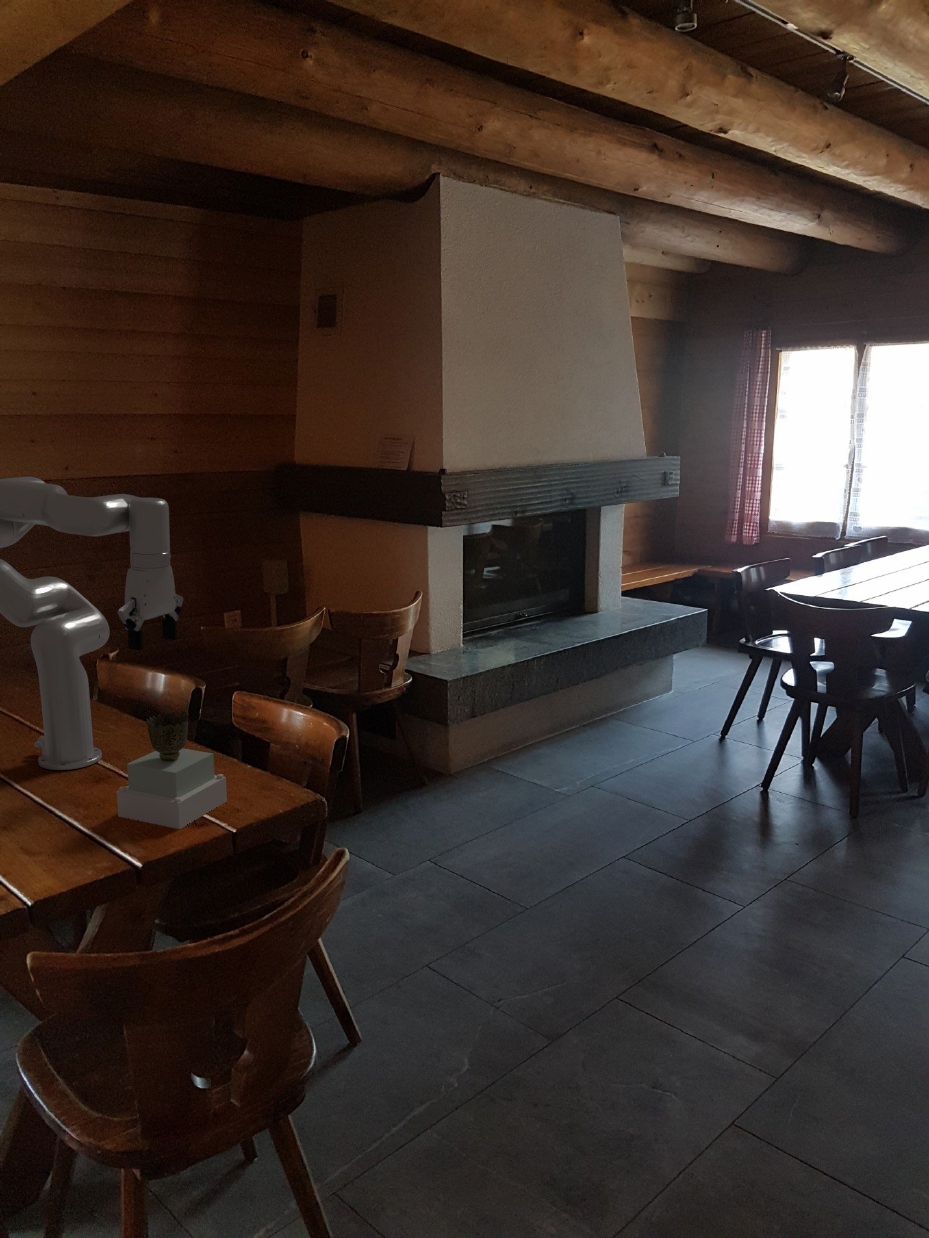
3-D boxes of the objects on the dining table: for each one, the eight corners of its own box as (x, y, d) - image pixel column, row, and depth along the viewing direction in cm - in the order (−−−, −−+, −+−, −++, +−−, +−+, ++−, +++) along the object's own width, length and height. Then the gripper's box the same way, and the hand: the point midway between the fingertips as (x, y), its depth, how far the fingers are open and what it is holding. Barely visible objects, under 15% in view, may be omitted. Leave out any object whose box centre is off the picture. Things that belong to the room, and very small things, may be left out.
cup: (198, 755, 185) (196, 714, 183) (174, 768, 178) (172, 726, 176) (165, 750, 187) (163, 710, 186) (140, 762, 180) (137, 721, 179)
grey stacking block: (118, 816, 181) (114, 765, 179) (168, 790, 194) (165, 742, 192) (179, 829, 176) (176, 776, 174) (226, 801, 189) (224, 752, 186)
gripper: (166, 553, 203) (168, 633, 207) (103, 564, 188) (107, 650, 192) (194, 557, 200) (196, 638, 204) (133, 568, 185) (136, 656, 189)
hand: (153, 644), depth 198 cm, fingers open, 9 cm apart
